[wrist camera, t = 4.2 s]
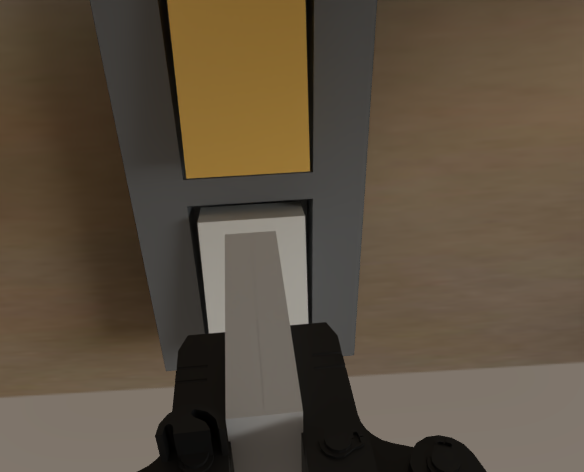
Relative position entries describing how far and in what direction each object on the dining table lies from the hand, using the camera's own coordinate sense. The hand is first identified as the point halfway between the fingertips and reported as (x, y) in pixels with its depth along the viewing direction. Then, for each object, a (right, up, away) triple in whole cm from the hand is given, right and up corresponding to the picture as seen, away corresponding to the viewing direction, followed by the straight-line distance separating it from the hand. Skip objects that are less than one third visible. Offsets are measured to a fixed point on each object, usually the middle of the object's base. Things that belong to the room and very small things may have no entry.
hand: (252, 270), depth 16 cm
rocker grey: (-1, -1, +12) cm, 12 cm away
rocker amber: (-1, +8, +6) cm, 10 cm away
